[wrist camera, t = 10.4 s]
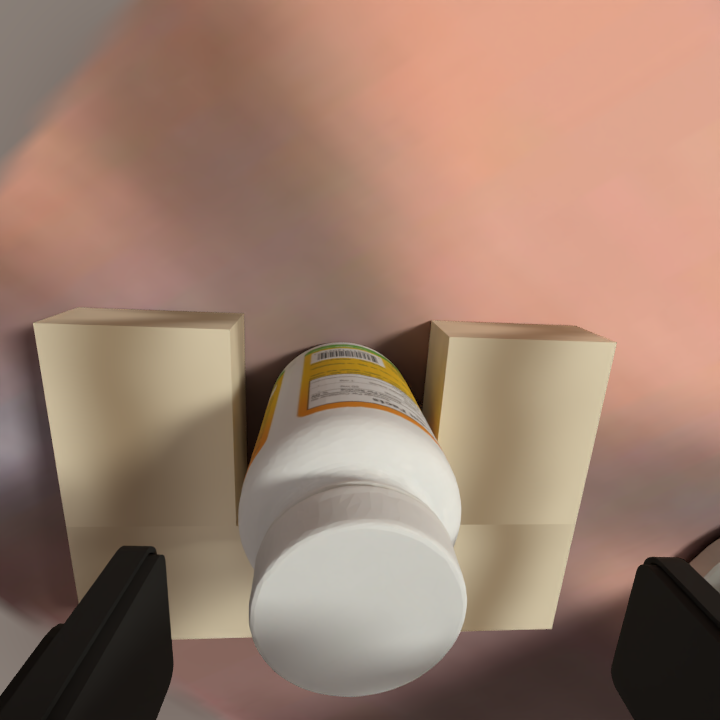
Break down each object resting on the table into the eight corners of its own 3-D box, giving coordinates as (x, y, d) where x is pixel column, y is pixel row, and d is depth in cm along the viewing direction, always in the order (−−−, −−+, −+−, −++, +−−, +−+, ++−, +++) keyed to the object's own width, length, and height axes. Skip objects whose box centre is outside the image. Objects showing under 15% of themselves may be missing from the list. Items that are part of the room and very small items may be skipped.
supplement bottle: (328, 492, 18) (332, 767, 9) (240, 395, 17) (137, 606, 8) (435, 417, 18) (560, 629, 8) (355, 310, 16) (396, 424, 7)
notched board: (575, 325, 17) (616, 342, 15) (525, 581, 20) (551, 628, 18) (78, 307, 15) (32, 322, 13) (114, 588, 19) (84, 641, 16)
